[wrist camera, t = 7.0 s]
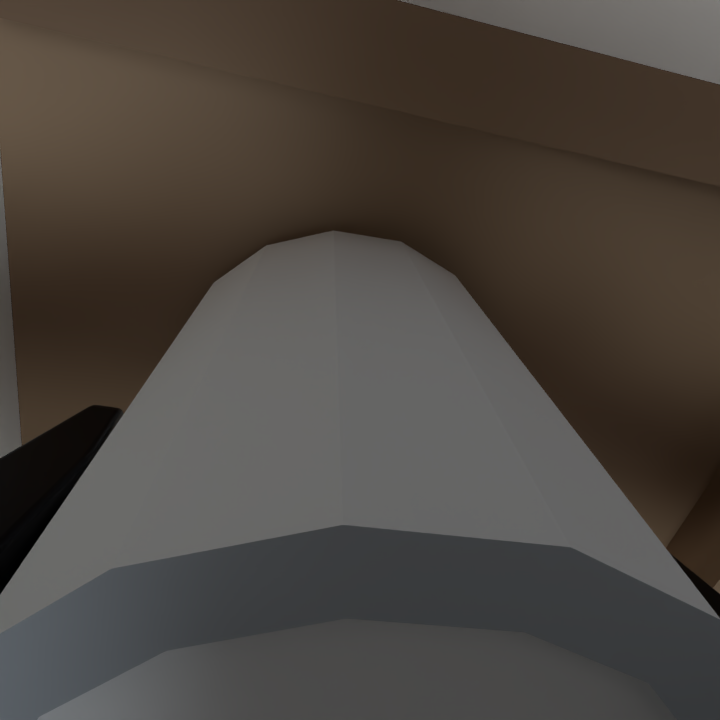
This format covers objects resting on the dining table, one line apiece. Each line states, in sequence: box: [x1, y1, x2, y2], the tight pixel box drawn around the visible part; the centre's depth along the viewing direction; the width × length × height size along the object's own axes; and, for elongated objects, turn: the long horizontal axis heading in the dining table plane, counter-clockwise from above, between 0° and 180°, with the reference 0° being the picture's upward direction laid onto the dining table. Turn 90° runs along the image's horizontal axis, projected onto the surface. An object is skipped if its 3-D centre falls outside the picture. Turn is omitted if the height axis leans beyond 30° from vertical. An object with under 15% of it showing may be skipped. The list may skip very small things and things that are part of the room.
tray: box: [0, 0, 720, 594], centre depth 12 cm, size 12×16×3 cm
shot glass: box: [0, 230, 720, 720], centre depth 8 cm, size 7×7×7 cm
